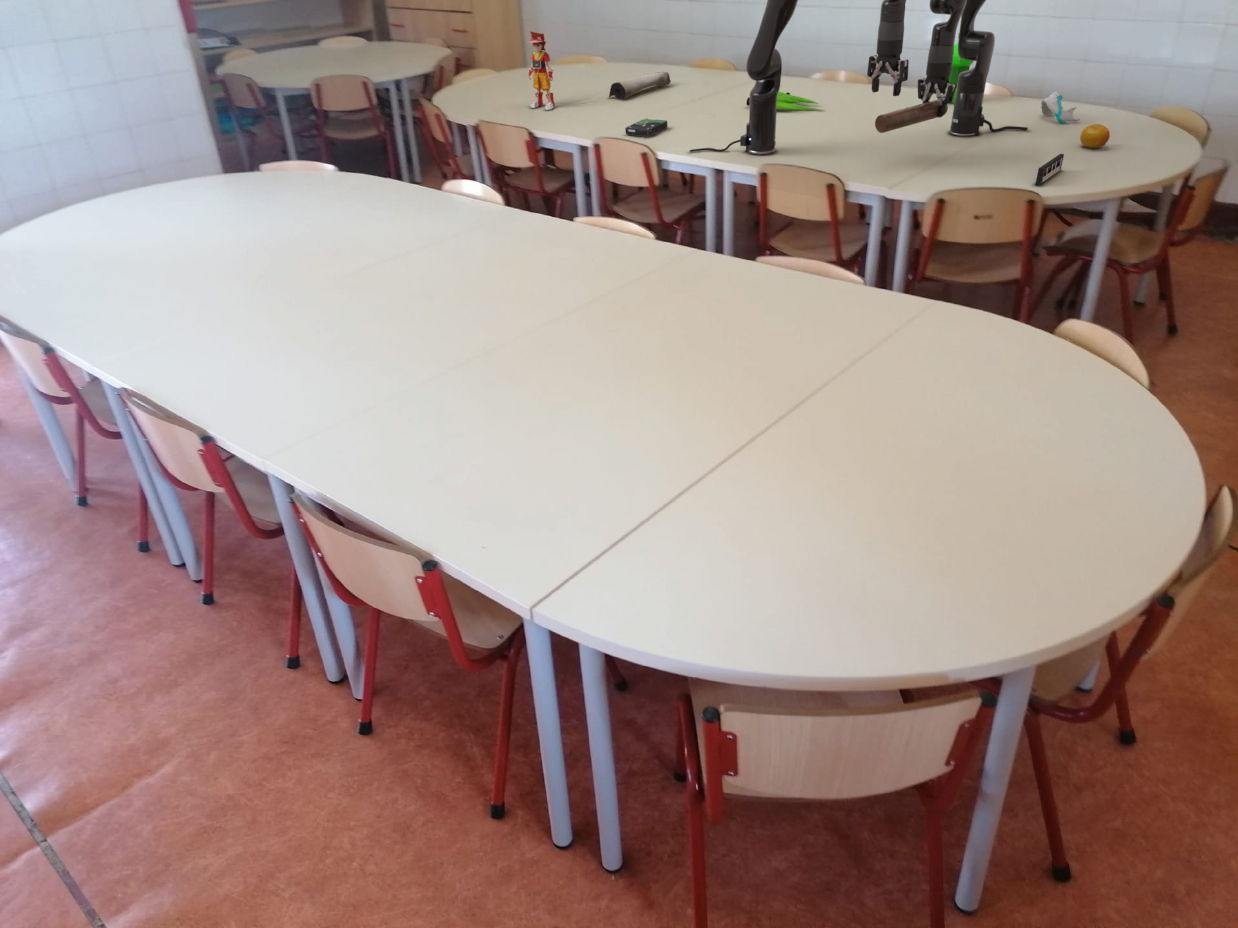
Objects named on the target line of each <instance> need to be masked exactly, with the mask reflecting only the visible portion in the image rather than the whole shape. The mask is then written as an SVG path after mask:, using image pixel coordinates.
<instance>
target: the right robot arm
mask: <svg viewBox="0 0 1238 928" xmlns="http://www.w3.org/2000/svg"><path fill="white" fill-rule="evenodd" d="M986 2H987V0H929V9H930V12H931V13H932V14H935V15H948V16H949V19H948V20H946V21H941V22H938V23H935V24H934V25H933V27H932V31H931V38H930V44H929V45H930V46H929V50H928V56H927V62H926V71H925V76H926V77H924V78H920V79H919V78H918V79H917V98H918V100H921V102H922V104H923V103H927V102H930V100H931V98H932V96H933V95H936V98H937V100H938V101H939V105H938V112H937V118H942V117H944V116H945V115H944V113H945V106H946V104H947V105H950V104H953V110H952V115H951V124H950V129H949V134H950V135H952V136H956V137H973V136H979V131H980V127H984V125H985V124H986V125H987V126H988V129H989V131H990V132H992V133H997V132H1001V131H1005V130H1017V131H1028V129H1029V127H1026V126H1014V125H1007V126H1002V127H999V128H993V124H992V123H991V121H989V120H987V119H985V118H986V117H985V115H984V113H983V109H984V107H983V102H984V96H985V90H986V83H987V79H988V76H989V72H990V67H991V62H992V58H993V54H994V51H995V50H994V49H995V45H996V44H995V43H996V36H995V34H994V33H993V31H986V30H975V22H976V17H977V15H978V14H979V12H980V10H981V9H982V7H983V6H984V4H985V3H986ZM959 23H960V24H959ZM958 26H959V32H958V35H959V38H957V39H958V41H957V43H958V56H959V58H960V59H963V60H970V61H973V62H975V65H974V67H972V68H971V69H970V68H969V70H966V71H963V72H961V73H960V74H959V77H958V83H957V85H956V84H951V83H949V76H950V74H951V68H952V61H953V55H954V46H955V41H956V35H957V29H958ZM956 87H957V90H956ZM946 88H947V91H946ZM955 90H956V96H955V103H952V100H953V97H954V93H955ZM942 99H943V100H942ZM943 115H944V116H943Z"/></svg>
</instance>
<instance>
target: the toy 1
mask: <svg viewBox="0 0 1238 928" xmlns="http://www.w3.org/2000/svg"><path fill="white" fill-rule="evenodd" d="M529 33H530V35H531V36H528V37H527V38H528V39H529V40H528V41H527V43H529V44H530V43H531V44H532V48H533V50H534V51H533V52H532V55H531V58H530V59H531V63H530V66H528V74H527V75H528V76H527V77H528V79H529V80H531V75H532V74H533V84H532V85H533V86H532V87H533V88H534V89H535V90H536V92H534V95H535V97H536V100H535V101H533V102H531V105H530V108H531V109H535V108H538V107H542V106H544V101H543V100H544V99H543V95H544V92H546V94H545V97H546V99H547V103H546V104H545V106H544V110H546V111H549V110H553V109H554V107H555V106H556V105H555V99H554V92H551V91H550V90H551V86H552V84H551V82H552V81H553V80H554V77H553V73H554V71H555V70H554V69H552V68H551V63H550V61H551V59H550V58H551V57H550V54H549V53H548V52H547V50H546V48H545V46H546V44H547V41H545V35H544V33H543V32H542V33H539V32H535V31H529Z"/></svg>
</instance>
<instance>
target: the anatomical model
mask: <svg viewBox="0 0 1238 928" xmlns="http://www.w3.org/2000/svg"><path fill="white" fill-rule="evenodd" d="M1063 99H1064V96H1063V94H1060V93H1059V92H1058V91H1051V93H1050V95H1049V96H1047V97H1044V98H1042V99H1041V102H1040V103H1041V104H1040V105H1041V107H1040V108H1041V113H1042V114H1043V115H1046V116H1047V115H1052V114H1053V115H1054V116H1055V118H1056V120H1057V122H1058V123H1059V124H1066V123H1068V122H1078V121H1080V120H1081V118H1080V117H1079V116H1078V117H1077V116H1074V115H1073V114H1074V111H1076V110H1077V109H1078V108H1077V106H1072V107H1070V108H1068V109H1064V107H1063V105H1062V100H1063Z"/></svg>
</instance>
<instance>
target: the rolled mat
mask: <svg viewBox="0 0 1238 928" xmlns="http://www.w3.org/2000/svg"><path fill="white" fill-rule="evenodd" d="M671 83H672V81H671V77H670V74H669V72H668V71H658V72H654V73H649V74H645V75H640V76H637V77H633V78H628V79H623V80H620V81H616V82H613V83H612V84H611V85H610V89H609V95H608V97H609V98H611V97H616V99H620V100H622V101H623V100H626V99H627V98H629V97H630V96H632V95H635V94H636V93H638V92H640V91H643V90H644V89H647V88H650V87H655V86H658V87H659V86H661V87H665V86H669V85H670V84H671Z"/></svg>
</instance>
